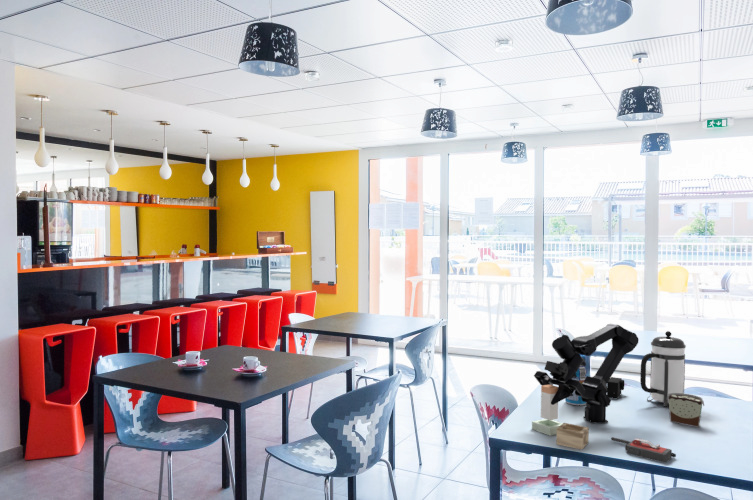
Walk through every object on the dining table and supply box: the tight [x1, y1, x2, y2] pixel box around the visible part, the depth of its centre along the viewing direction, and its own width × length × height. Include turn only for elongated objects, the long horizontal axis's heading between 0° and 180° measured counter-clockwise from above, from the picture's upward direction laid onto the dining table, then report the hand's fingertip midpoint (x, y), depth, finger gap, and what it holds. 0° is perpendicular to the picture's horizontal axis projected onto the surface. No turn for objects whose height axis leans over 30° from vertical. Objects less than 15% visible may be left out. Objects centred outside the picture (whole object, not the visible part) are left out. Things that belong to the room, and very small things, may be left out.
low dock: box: [531, 418, 564, 436], centre depth 197 cm, size 8×8×3 cm
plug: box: [540, 384, 559, 421], centre depth 197 cm, size 4×4×11 cm
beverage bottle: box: [564, 354, 588, 406], centre depth 233 cm, size 8×8×20 cm
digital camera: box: [606, 376, 625, 399], centre depth 247 cm, size 10×5×7 cm, turn 148°
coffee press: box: [640, 330, 687, 408], centre depth 235 cm, size 17×16×30 cm
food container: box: [667, 393, 705, 428], centre depth 210 cm, size 12×6×10 cm, turn 47°
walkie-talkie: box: [610, 437, 677, 464], centre depth 178 cm, size 9×4×20 cm
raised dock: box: [555, 422, 590, 450], centre depth 184 cm, size 8×8×5 cm
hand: (546, 402), depth 196 cm, fingers closed on plug, 4 cm apart
